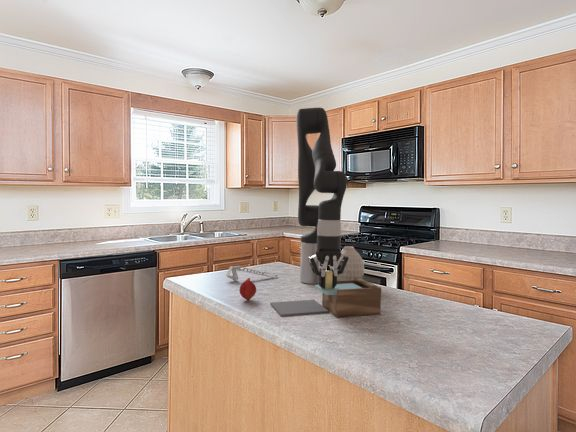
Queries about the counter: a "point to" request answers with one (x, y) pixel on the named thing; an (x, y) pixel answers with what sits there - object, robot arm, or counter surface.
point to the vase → (351, 264)
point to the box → (354, 300)
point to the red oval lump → (247, 289)
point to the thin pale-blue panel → (333, 291)
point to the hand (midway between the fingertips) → (327, 287)
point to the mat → (298, 307)
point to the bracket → (234, 268)
